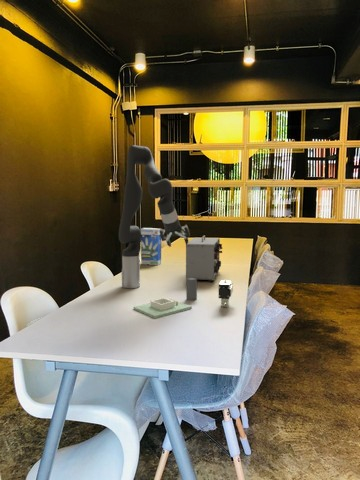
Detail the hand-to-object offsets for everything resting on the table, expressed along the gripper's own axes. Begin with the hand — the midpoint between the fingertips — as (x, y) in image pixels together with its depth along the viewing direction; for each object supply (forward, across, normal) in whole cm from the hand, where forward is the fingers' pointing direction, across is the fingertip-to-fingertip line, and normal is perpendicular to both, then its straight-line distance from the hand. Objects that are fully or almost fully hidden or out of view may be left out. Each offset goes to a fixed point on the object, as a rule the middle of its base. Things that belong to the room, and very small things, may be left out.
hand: (178, 244), depth 184 cm
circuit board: (+8, +6, +35) cm, 36 cm away
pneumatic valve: (+16, -21, +29) cm, 39 cm away
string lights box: (+55, +40, -54) cm, 87 cm away
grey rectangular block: (+18, -4, +21) cm, 28 cm away
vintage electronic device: (+44, -4, -22) cm, 50 cm away
